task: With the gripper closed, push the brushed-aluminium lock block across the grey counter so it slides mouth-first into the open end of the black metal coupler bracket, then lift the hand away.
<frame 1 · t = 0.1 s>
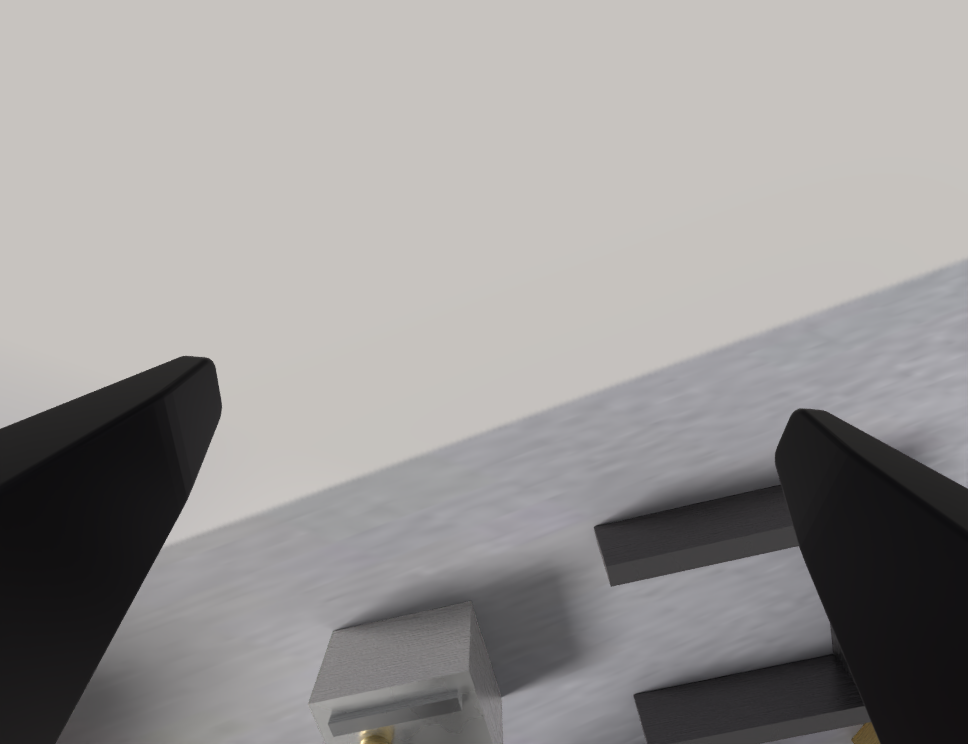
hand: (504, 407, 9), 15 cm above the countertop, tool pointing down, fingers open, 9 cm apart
lock block: (419, 662, 30), on the countertop
coupler bracket: (719, 601, 29), on the countertop
gold elongated piece: (923, 690, 30), on the countertop
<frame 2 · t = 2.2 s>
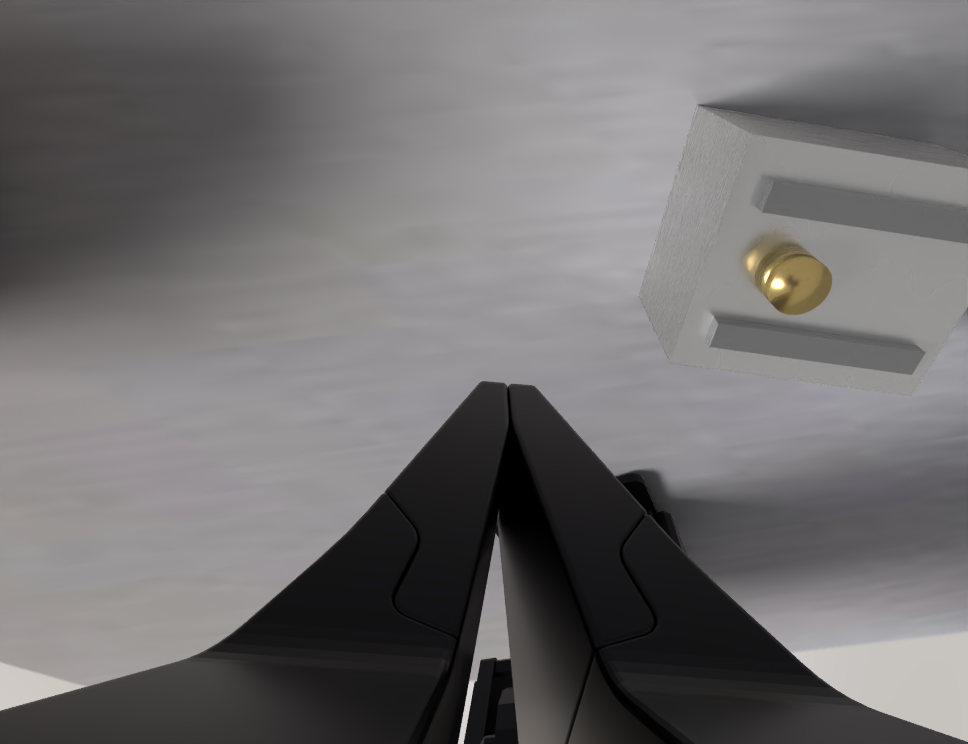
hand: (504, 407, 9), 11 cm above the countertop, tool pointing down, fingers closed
lock block: (771, 223, 19), on the countertop
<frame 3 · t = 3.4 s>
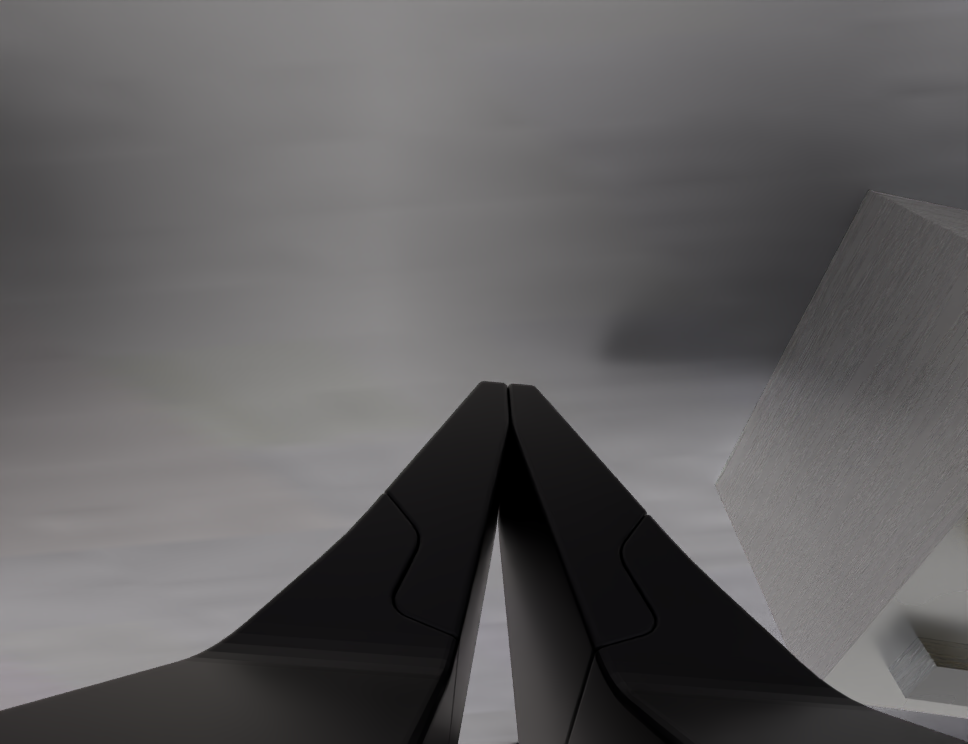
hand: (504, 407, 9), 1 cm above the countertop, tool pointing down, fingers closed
lock block: (957, 387, 11), on the countertop
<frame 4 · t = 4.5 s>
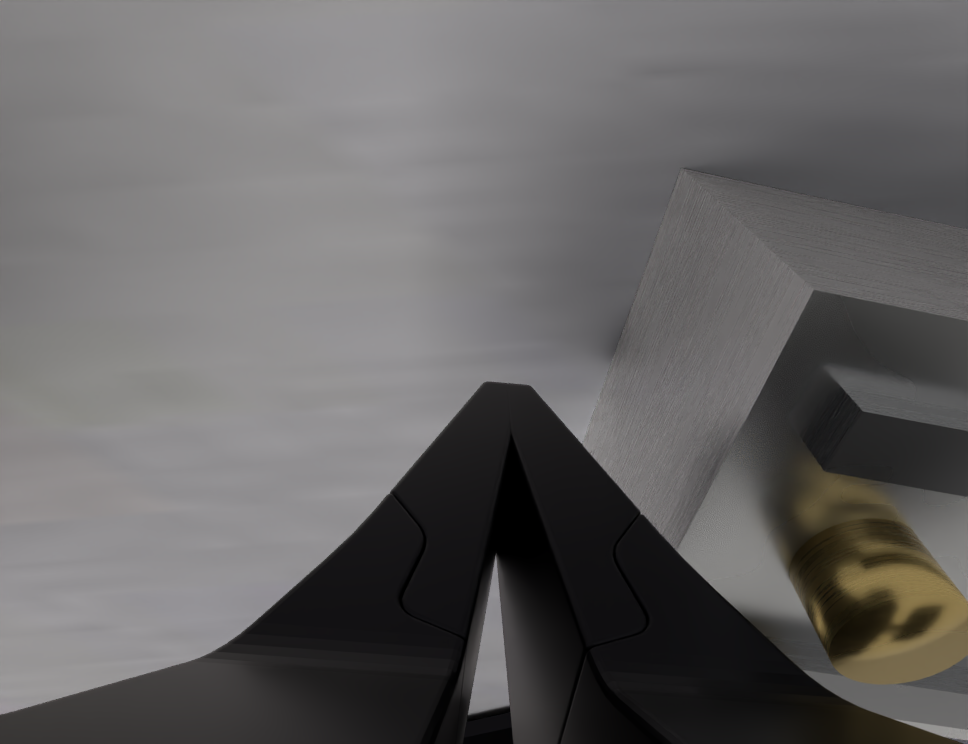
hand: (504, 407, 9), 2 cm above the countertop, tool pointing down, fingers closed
lock block: (807, 377, 11), on the countertop, touching gripper
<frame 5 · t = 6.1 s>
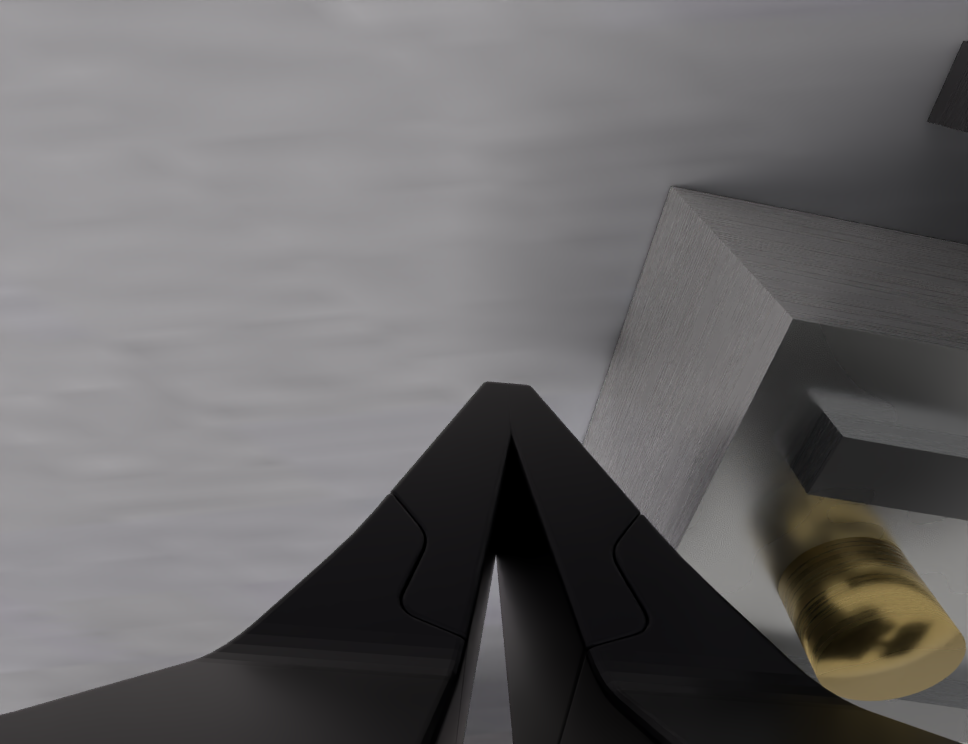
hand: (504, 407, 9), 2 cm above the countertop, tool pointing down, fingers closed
lock block: (801, 388, 11), on the countertop, touching gripper
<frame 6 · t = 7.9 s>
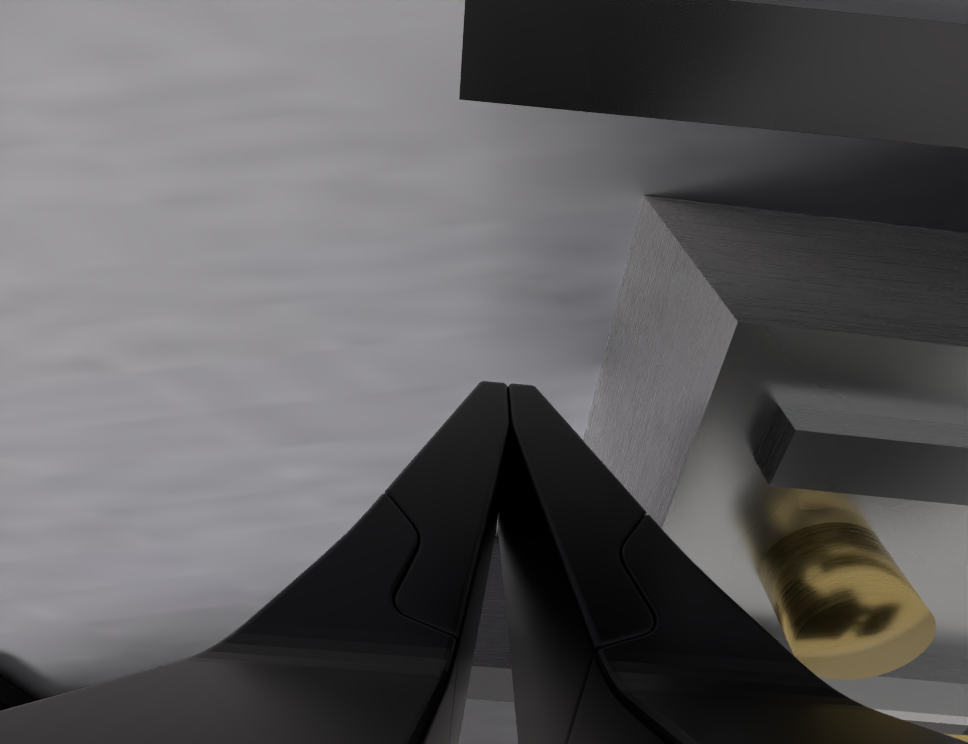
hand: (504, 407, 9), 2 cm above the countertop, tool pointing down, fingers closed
lock block: (788, 377, 11), on the countertop
coupler bracket: (732, 376, 11), on the countertop
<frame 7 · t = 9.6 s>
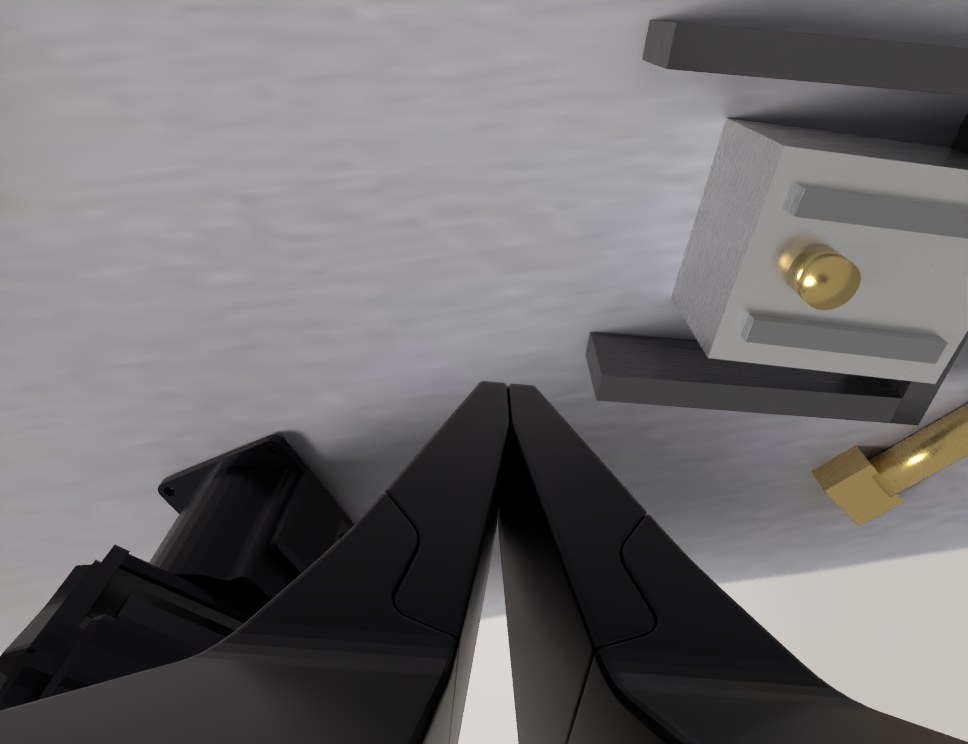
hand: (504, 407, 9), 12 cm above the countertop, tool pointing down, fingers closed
lock block: (797, 225, 20), on the countertop
coupler bracket: (762, 224, 20), on the countertop
gold elongated piece: (923, 434, 24), on the countertop
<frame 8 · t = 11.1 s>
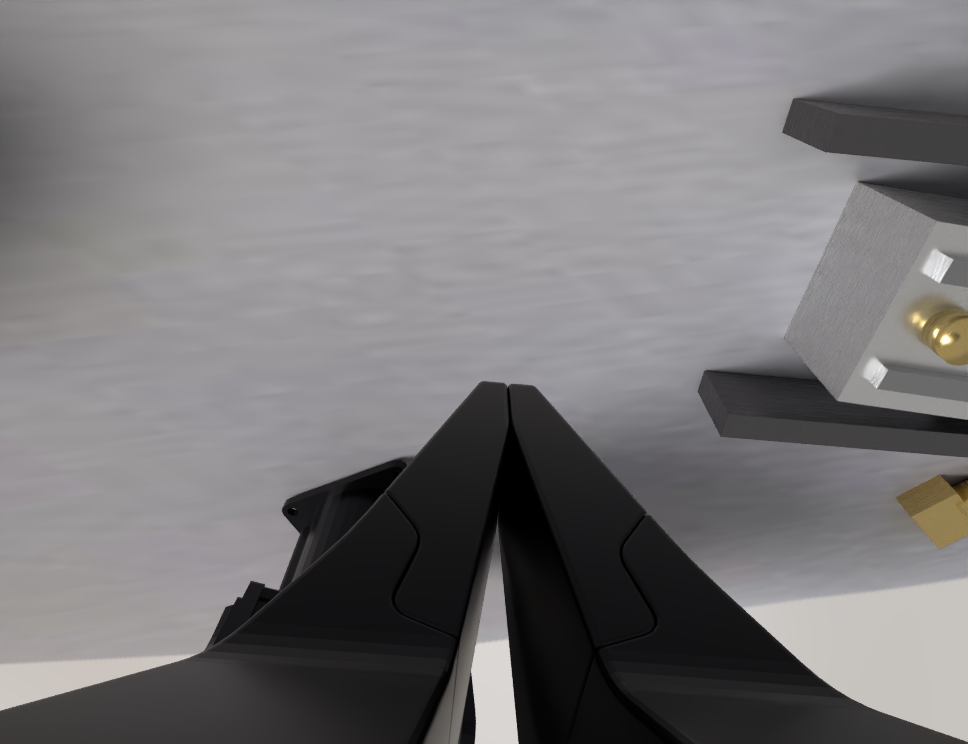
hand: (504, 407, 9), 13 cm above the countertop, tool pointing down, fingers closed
lock block: (906, 278, 22), on the countertop
coupler bracket: (875, 277, 22), on the countertop
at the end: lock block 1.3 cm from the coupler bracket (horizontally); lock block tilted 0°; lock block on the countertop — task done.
